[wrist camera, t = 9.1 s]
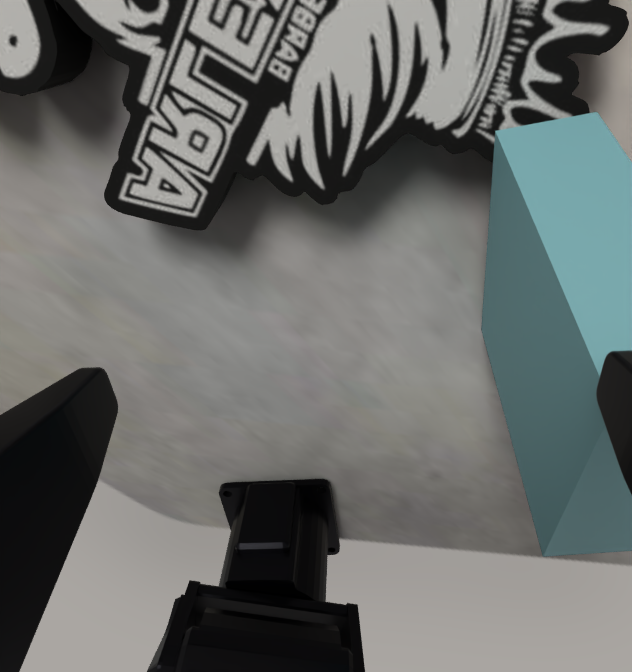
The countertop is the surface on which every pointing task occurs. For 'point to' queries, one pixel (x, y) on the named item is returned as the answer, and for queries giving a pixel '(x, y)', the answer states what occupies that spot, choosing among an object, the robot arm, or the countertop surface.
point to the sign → (302, 84)
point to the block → (561, 321)
